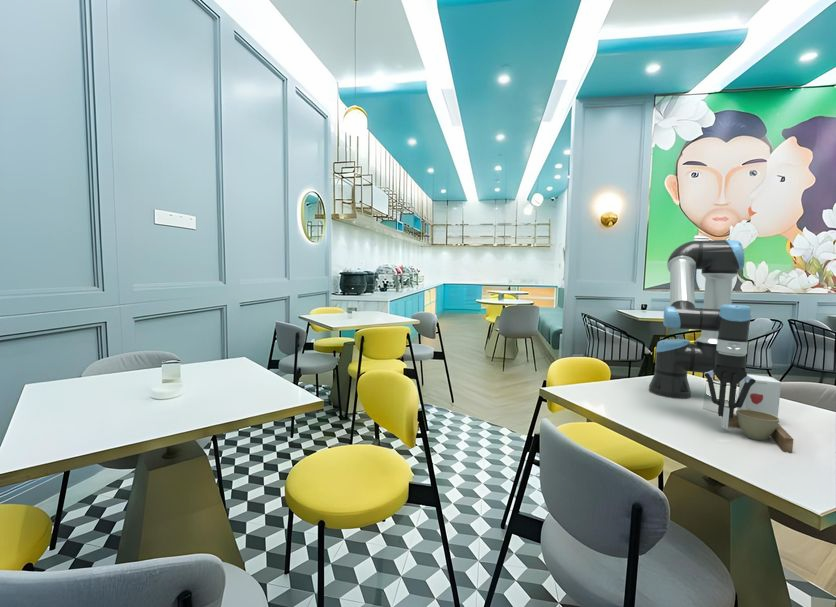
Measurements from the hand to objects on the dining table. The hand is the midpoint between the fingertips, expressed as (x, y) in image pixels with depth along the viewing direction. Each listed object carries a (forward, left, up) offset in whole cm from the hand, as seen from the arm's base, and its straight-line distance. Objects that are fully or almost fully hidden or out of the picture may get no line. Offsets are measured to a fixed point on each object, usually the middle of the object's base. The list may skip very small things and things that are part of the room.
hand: (724, 426), depth 124 cm
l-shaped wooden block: (+8, 0, -2) cm, 8 cm away
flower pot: (+8, 0, -2) cm, 8 cm away
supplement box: (+12, +22, -2) cm, 25 cm away
